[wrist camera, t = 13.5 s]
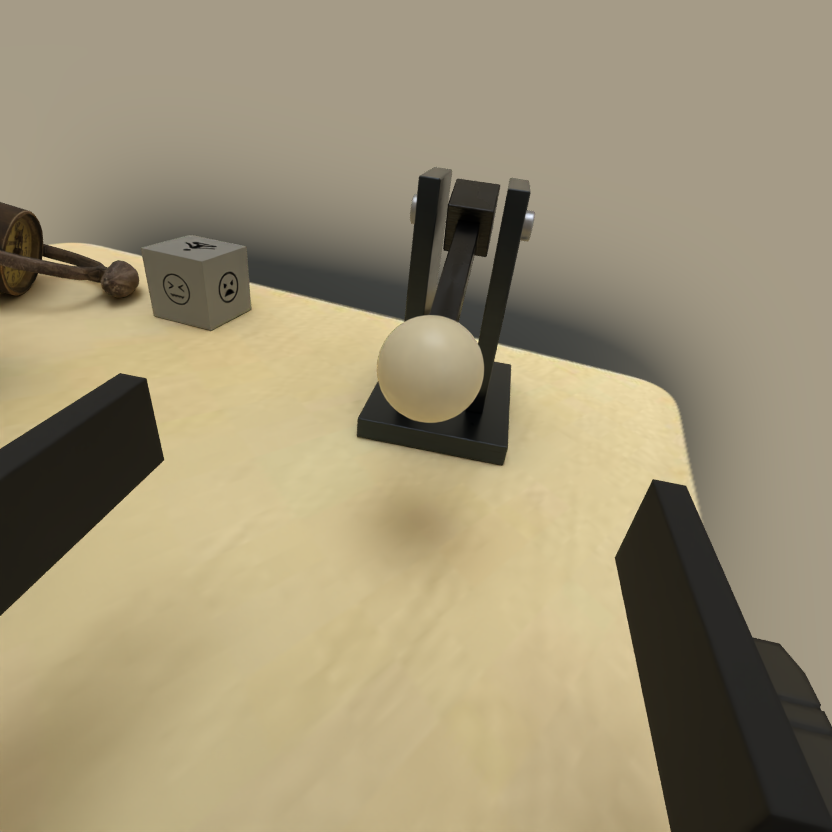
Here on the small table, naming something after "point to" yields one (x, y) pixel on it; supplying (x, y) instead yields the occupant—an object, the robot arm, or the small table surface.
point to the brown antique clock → (22, 258)
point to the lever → (442, 322)
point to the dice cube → (197, 280)
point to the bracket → (489, 412)
